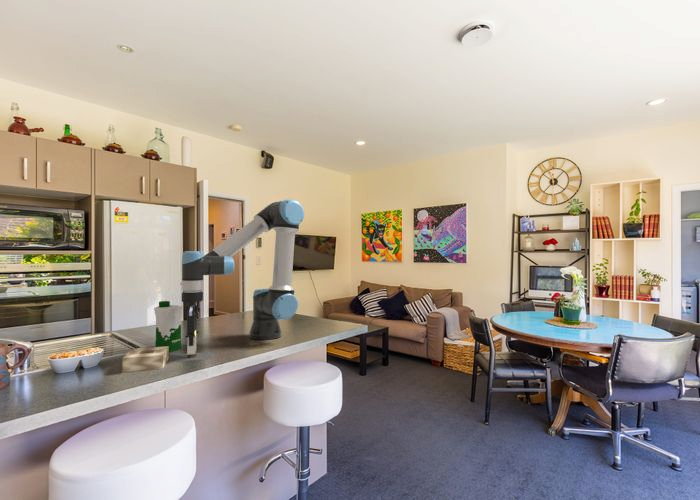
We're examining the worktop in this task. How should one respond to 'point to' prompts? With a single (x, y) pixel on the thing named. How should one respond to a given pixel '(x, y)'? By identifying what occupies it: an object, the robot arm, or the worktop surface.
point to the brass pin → (195, 349)
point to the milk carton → (168, 325)
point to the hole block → (145, 359)
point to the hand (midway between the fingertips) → (191, 352)
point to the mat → (185, 358)
